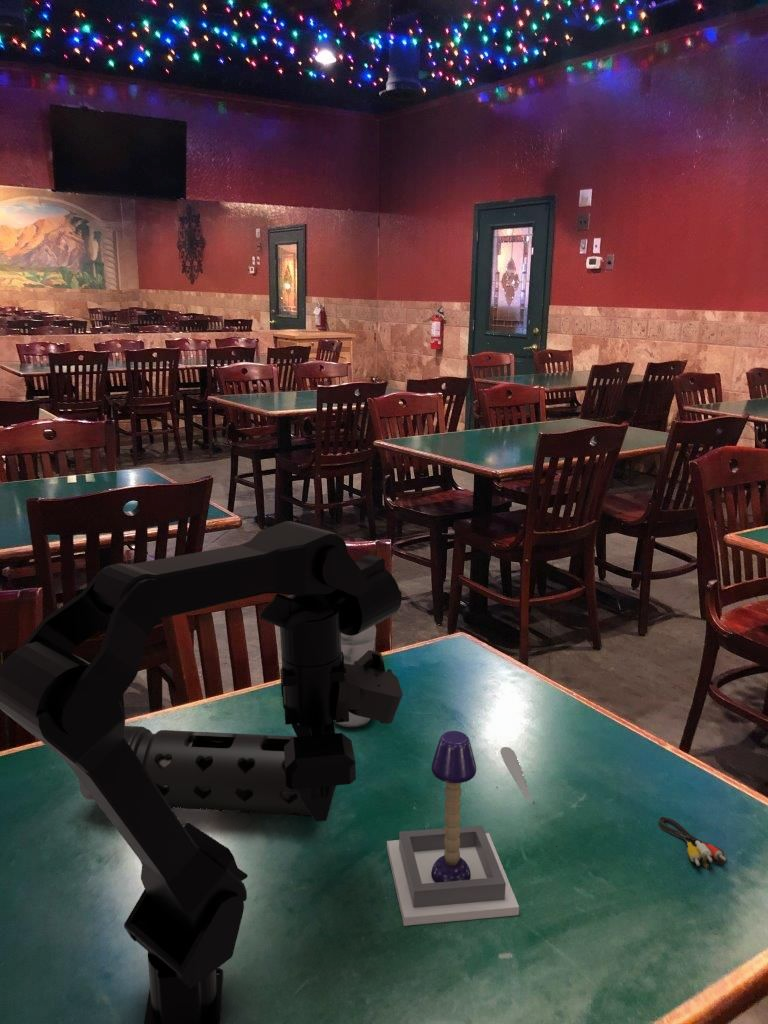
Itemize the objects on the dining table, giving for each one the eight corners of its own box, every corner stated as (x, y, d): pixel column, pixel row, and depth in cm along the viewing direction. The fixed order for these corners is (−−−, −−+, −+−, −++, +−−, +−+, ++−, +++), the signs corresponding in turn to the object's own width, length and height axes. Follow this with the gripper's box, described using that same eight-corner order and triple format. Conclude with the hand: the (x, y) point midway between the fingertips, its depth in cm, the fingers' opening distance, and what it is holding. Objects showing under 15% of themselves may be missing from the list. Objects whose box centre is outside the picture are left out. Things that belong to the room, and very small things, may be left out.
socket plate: (518, 915, 85) (520, 890, 84) (403, 925, 84) (404, 900, 83) (488, 840, 97) (489, 818, 96) (386, 848, 95) (387, 825, 94)
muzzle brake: (313, 841, 96) (312, 762, 94) (79, 828, 98) (71, 750, 95) (324, 793, 105) (324, 720, 103) (110, 782, 107) (104, 710, 104)
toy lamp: (422, 884, 88) (429, 745, 83) (430, 855, 92) (437, 722, 88) (467, 892, 87) (476, 752, 82) (473, 863, 91) (482, 729, 87)
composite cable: (652, 823, 101) (654, 806, 100) (688, 819, 102) (690, 801, 101) (696, 878, 91) (698, 859, 91) (735, 873, 92) (738, 855, 92)
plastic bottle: (323, 716, 124) (322, 590, 119) (364, 707, 127) (365, 584, 122) (339, 736, 118) (339, 606, 113) (382, 727, 121) (384, 599, 116)
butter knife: (518, 745, 116) (498, 745, 116) (582, 880, 91) (555, 880, 90) (518, 749, 117) (497, 749, 116) (581, 884, 91) (555, 884, 90)
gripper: (412, 696, 71) (412, 845, 76) (381, 605, 88) (383, 731, 93) (281, 707, 69) (290, 859, 74) (276, 612, 87) (284, 740, 92)
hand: (317, 790), depth 84 cm, fingers open, 9 cm apart
